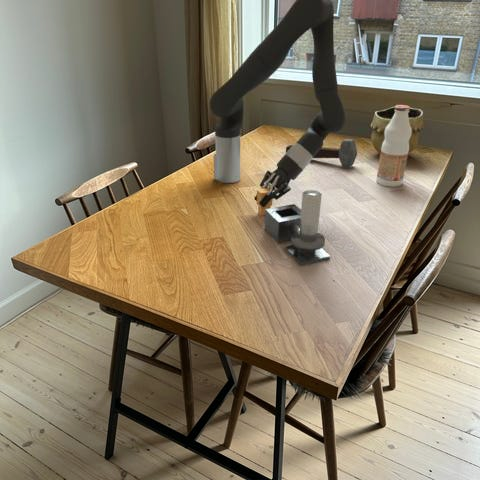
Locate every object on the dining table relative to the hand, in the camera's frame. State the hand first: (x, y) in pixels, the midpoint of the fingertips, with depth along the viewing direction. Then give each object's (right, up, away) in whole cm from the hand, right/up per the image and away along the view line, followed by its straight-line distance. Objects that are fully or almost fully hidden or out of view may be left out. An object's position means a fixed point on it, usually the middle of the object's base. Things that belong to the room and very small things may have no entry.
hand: (258, 202), depth 139 cm
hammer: (+27, +21, +45) cm, 57 cm away
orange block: (+2, -3, +3) cm, 5 cm away
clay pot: (+59, +24, +50) cm, 82 cm away
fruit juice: (+50, +10, +25) cm, 57 cm away
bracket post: (+10, -13, -14) cm, 22 cm away
